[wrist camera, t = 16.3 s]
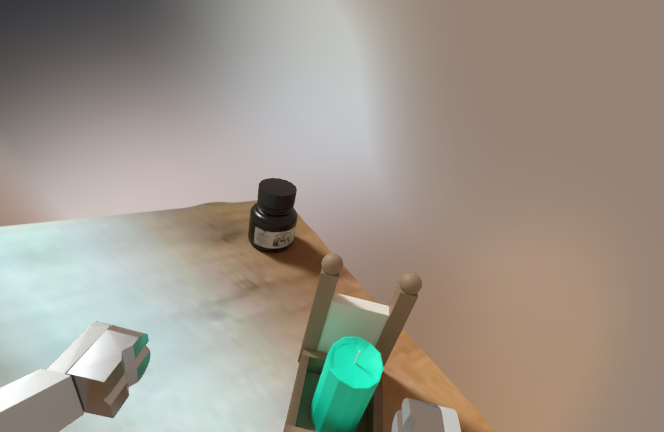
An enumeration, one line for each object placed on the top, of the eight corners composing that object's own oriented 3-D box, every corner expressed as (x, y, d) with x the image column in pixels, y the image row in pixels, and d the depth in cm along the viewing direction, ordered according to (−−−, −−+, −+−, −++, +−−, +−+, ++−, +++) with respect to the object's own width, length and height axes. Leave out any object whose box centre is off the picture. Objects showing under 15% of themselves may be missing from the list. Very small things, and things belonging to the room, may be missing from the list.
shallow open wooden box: (279, 448, 35) (283, 434, 33) (299, 361, 44) (303, 347, 42) (374, 471, 35) (382, 458, 33) (375, 380, 44) (381, 367, 42)
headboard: (296, 362, 44) (322, 259, 34) (299, 347, 46) (325, 246, 36) (378, 382, 44) (426, 285, 34) (378, 366, 46) (423, 271, 37)
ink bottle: (254, 257, 59) (260, 201, 53) (239, 230, 65) (244, 176, 59) (301, 248, 65) (312, 196, 58) (284, 224, 71) (292, 174, 64)
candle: (346, 383, 43) (371, 322, 36) (367, 431, 38) (399, 370, 32) (303, 395, 40) (322, 332, 34) (320, 448, 36) (345, 386, 29)
